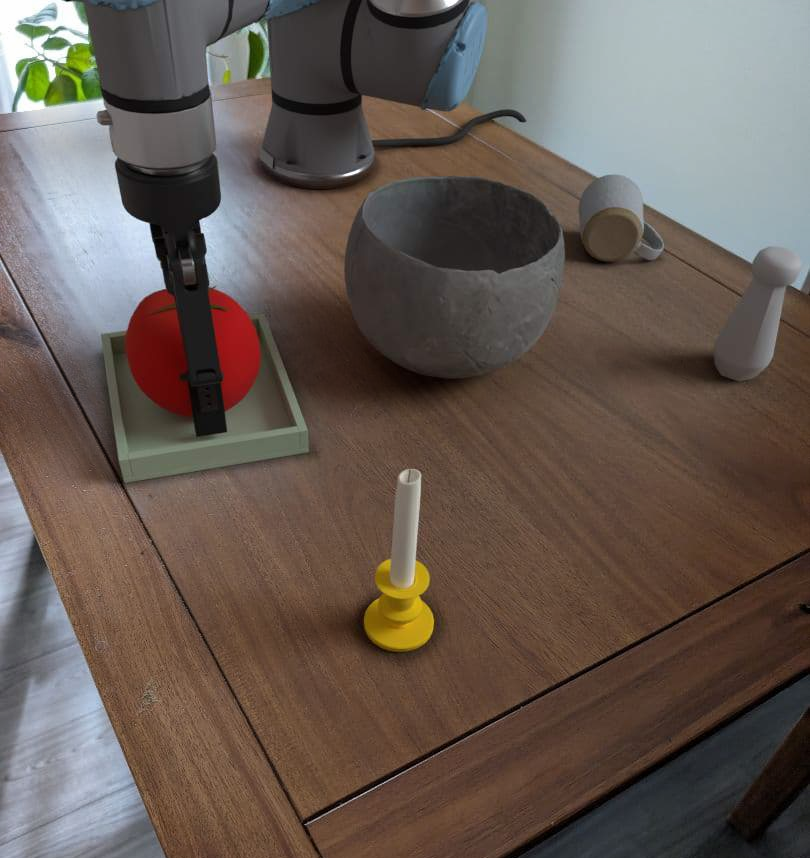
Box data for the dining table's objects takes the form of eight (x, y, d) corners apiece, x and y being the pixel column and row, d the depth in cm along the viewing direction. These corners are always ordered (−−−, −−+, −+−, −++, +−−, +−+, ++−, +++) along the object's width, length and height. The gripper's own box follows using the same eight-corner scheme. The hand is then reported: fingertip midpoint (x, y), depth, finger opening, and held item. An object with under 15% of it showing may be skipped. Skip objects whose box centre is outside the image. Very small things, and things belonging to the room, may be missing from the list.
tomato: (282, 418, 79) (275, 320, 71) (156, 451, 75) (134, 350, 67) (240, 348, 86) (230, 252, 78) (122, 374, 82) (100, 275, 74)
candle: (362, 651, 62) (366, 497, 51) (364, 596, 66) (369, 439, 54) (434, 653, 62) (454, 500, 51) (432, 598, 66) (451, 443, 55)
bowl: (395, 437, 79) (404, 291, 68) (314, 321, 91) (311, 181, 80) (582, 388, 85) (618, 248, 74) (483, 286, 98) (501, 153, 87)
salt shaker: (765, 361, 90) (815, 246, 81) (762, 392, 87) (814, 275, 77) (709, 348, 91) (751, 233, 82) (704, 378, 88) (748, 261, 78)
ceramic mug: (575, 262, 102) (589, 200, 97) (572, 230, 108) (586, 169, 102) (663, 272, 102) (683, 211, 97) (656, 239, 108) (674, 179, 102)
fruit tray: (266, 335, 89) (264, 313, 87) (308, 452, 77) (307, 430, 75) (106, 356, 85) (100, 333, 83) (124, 483, 73) (118, 460, 71)
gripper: (100, 97, 71) (144, 324, 87) (129, 237, 55) (176, 482, 71) (192, 91, 73) (219, 314, 88) (245, 225, 57) (266, 467, 73)
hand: (200, 389), depth 80 cm, fingers closed on tomato, 12 cm apart
